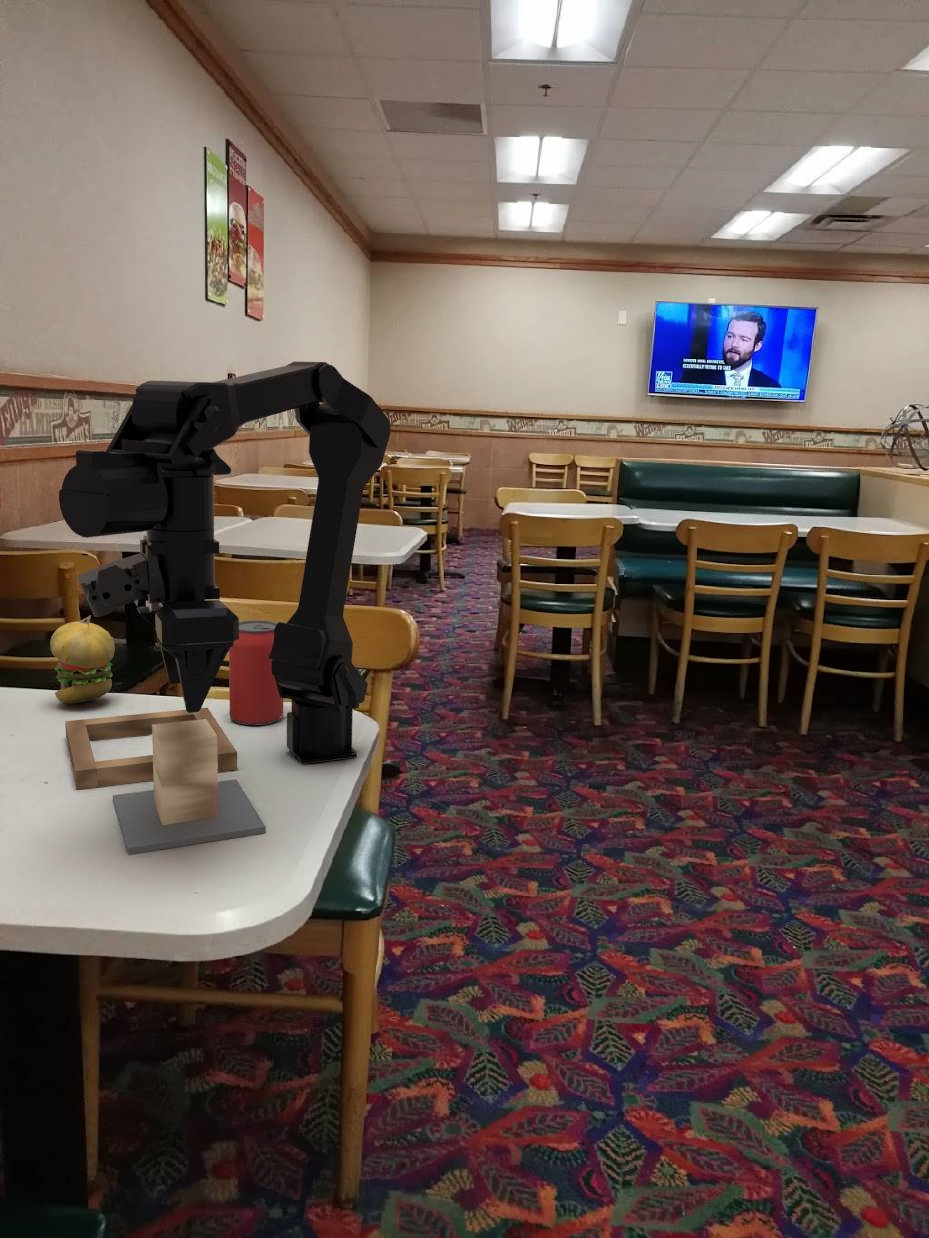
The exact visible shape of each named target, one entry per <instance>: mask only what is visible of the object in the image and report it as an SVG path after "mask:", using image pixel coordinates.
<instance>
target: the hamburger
mask: <svg viewBox="0 0 929 1238" xmlns="http://www.w3.org/2000/svg"><path fill="white" fill-rule="evenodd" d="M91 616H92V615H89V616H87V617H85V618H83V619H81V620H79V621H72V622H68V623H65V624H63V625H61V626H59V627H58V628H57V629H56V630H55V631H54V632H53V634H52V635H51V638H50V642H49V645H50V647H49V649H50V651H51V653H52V655H53V656H54V657H55V658H56V659H58V660H59V661H58V662H57V665H56V666H55V668H54V670H55V672H57V675H56V677H55V680H57V681H58V682H60V689H59V690H56V691H55V693H54V694H55V696H56V699H57V700H58V701H59V702H61V703H63V704H71V705H72V704H79V703H84V702H88V701H89V702H90V701H93V700H96V699H99V698H101V697H103V696H104V695H106V694H108V693H109V692H110V690H111V689H112V687H113V686H112V684H113V682H112V679H111V678H112V677H113V672H112V671H111V669H112V668H111V666H113V663H112V662H111V660H112V659H113V658H114V655H115V652H116V651H115V650H116V648H115V647H116V646H115V641H114V640H113V638H114V637H113V636H111V634H110V633H109V631H108V630H106V629H105V628H103V627H102V626H100V625H98V624H95V623H93V622H91V618H92V617H91ZM89 680H90V682H88V681H89ZM70 681H71V686H69V684H68V683H69V682H70Z"/></svg>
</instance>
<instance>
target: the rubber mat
mask: <svg viewBox="0 0 929 1238" xmlns="http://www.w3.org/2000/svg"><path fill="white" fill-rule="evenodd" d="M111 796H112V803H113V806H114V810H115V814H116V818H117V821H118V825H119V829H120V832H121V836H122V838H123V843H124V846H125V850H126V854H127V855H128V856H129V855H133V854H134V855H135V854H139V853H140V854H141V853H145V852H147V853H149V852H153V851H158V850H165V849H172V848H173V849H174V848H178V847H185V846H186V847H187V846H191V845H197V844H204V843H210V842H216V841H217V842H218V841H222V840H223V841H224V840H229V839H235V838H241V837H248V836H249V837H250V836H255V835H262V834H266V833H267V826H266V825H265V823H264V821H263V820H262V818H261V817H260V815H259V814H258V812H257V810H256V809H255V807H254V805H253V804H252V802H251V800H250V799H249V797H248V796H247V794H246V793H245V791H244V789H243V788H242V786H241V784H240V783H239V781H238V780H237V779H236V778H235V779H227V780H220V781H219V780H218V817H215V818H208V819H202V820H195V821H188V822H181V823H175V824H168V825H162V822H161V820H160V817H159V815H158V812H157V810H156V807H155V804H154V789H151V790H143V791H137V792H135V791H133V792H128V793H127V792H126V793H121V794H119V793H118V794H112V795H111Z"/></svg>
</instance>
